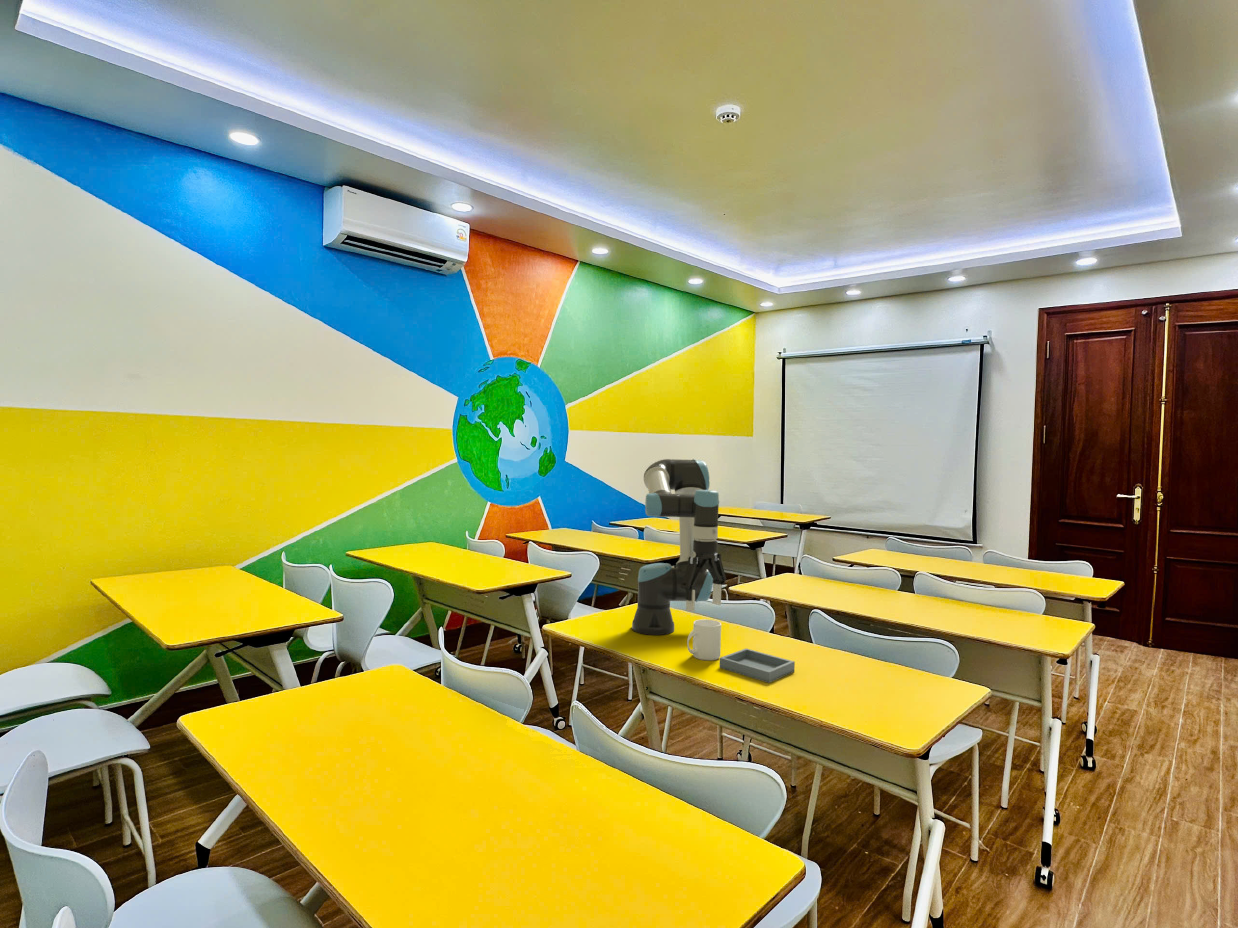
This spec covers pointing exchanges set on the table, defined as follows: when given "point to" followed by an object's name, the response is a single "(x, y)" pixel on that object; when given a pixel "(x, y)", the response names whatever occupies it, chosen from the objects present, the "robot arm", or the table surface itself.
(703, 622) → the mug
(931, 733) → the table surface
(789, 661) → the tray
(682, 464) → the robot arm
